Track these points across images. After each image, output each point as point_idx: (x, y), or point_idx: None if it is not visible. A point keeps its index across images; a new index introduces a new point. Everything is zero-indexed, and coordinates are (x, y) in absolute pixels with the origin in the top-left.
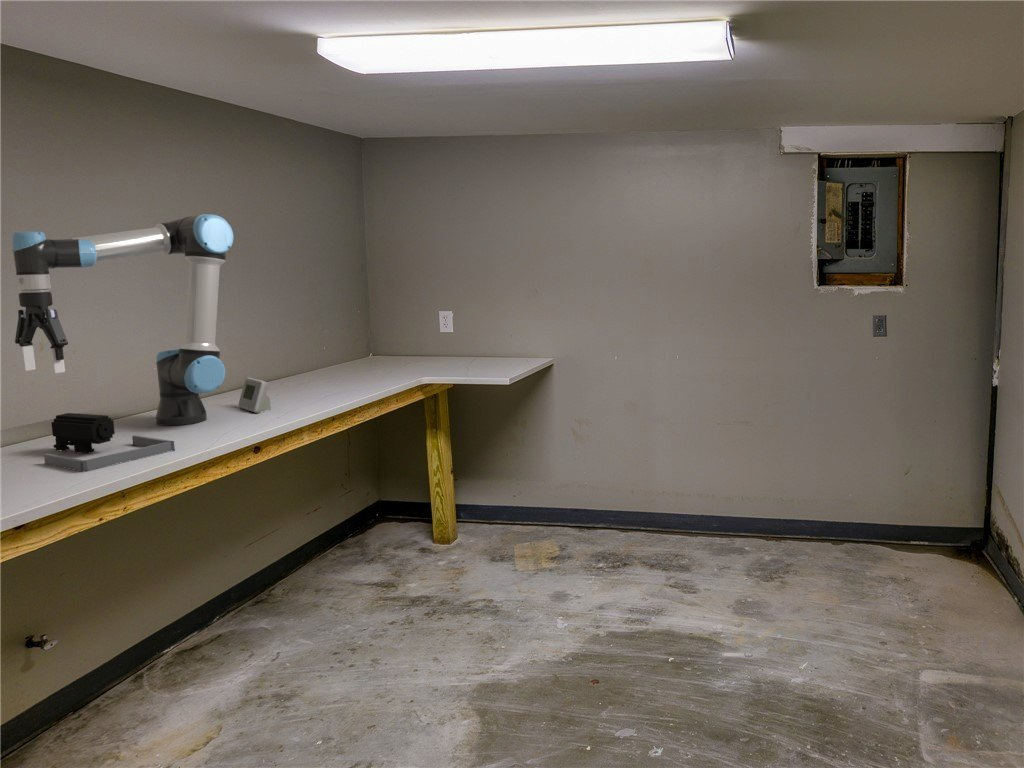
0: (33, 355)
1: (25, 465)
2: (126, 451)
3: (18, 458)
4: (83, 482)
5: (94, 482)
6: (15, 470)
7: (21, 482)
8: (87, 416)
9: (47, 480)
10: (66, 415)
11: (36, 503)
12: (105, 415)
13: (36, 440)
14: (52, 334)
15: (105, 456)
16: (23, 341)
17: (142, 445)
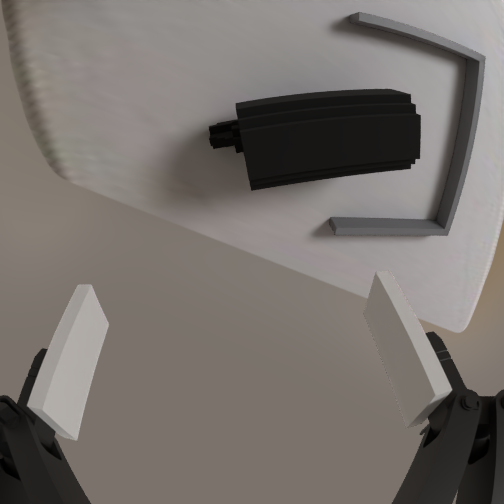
0: (63, 353)
1: (302, 246)
2: (468, 155)
3: (223, 224)
4: (468, 256)
5: (479, 249)
6: (320, 270)
7: None
8: (372, 147)
9: (420, 273)
10: (285, 163)
11: (464, 313)
12: (411, 116)
13: (57, 120)
14: (458, 493)
15: (459, 196)
16: (68, 468)
17: (388, 31)
